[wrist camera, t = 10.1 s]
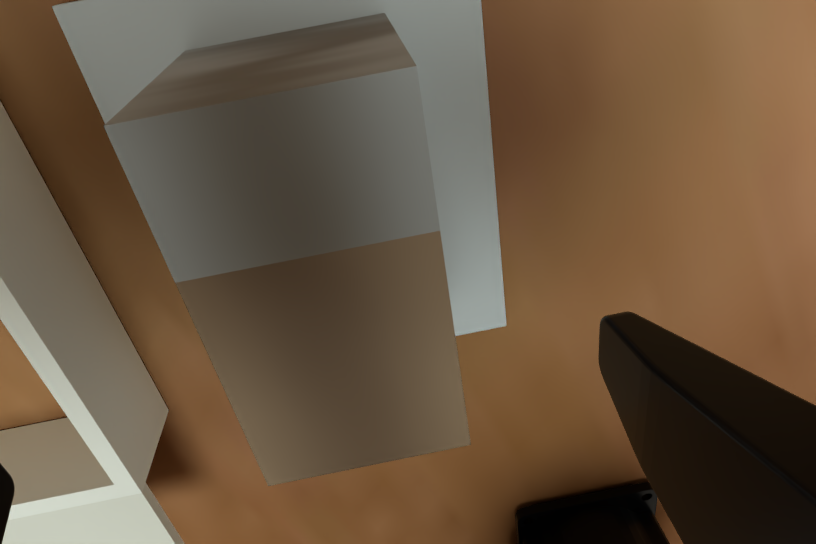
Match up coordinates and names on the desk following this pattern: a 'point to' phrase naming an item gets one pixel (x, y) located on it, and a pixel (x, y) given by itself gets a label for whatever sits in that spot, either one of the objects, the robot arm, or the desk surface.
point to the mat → (316, 5)
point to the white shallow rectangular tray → (72, 381)
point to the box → (305, 241)
